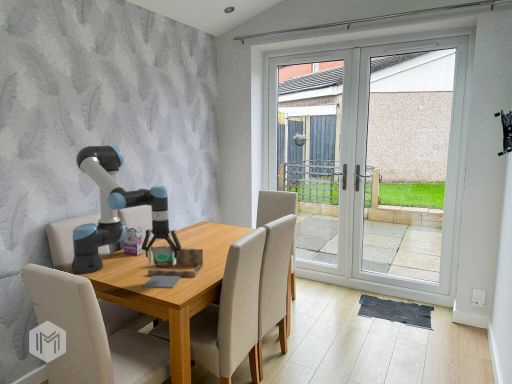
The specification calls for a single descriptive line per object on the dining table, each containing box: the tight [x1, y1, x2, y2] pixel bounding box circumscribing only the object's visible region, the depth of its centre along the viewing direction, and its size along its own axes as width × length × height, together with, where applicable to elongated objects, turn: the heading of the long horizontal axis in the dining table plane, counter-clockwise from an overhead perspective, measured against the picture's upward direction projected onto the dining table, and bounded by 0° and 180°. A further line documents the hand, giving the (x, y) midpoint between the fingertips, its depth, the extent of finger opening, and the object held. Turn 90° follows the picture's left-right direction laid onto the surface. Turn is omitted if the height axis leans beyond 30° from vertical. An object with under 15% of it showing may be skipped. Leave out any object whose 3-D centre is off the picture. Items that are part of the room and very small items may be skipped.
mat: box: [142, 275, 182, 289], centre depth 172 cm, size 14×14×1 cm
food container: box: [150, 243, 176, 269], centre depth 170 cm, size 12×6×10 cm, turn 107°
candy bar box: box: [122, 225, 144, 256], centre depth 215 cm, size 11×5×16 cm, turn 62°
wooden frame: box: [147, 248, 204, 278], centre depth 187 cm, size 24×18×9 cm
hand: (162, 264), depth 170 cm, fingers closed on food container, 11 cm apart
